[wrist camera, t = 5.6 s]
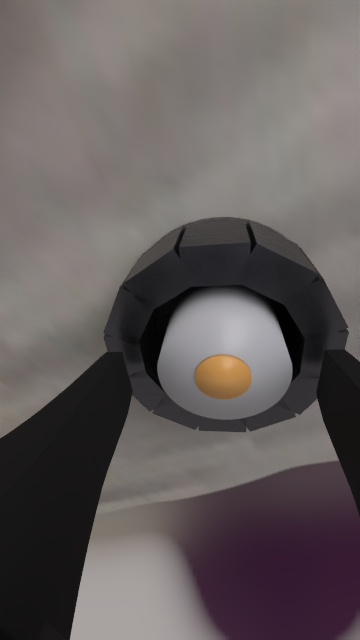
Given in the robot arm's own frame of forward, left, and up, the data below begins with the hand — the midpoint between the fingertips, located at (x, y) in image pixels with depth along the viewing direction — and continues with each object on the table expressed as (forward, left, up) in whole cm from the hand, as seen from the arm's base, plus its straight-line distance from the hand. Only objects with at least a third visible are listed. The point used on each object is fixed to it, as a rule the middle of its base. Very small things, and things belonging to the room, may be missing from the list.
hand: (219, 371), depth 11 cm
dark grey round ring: (0, 0, -4) cm, 4 cm away
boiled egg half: (0, 0, -4) cm, 4 cm away
